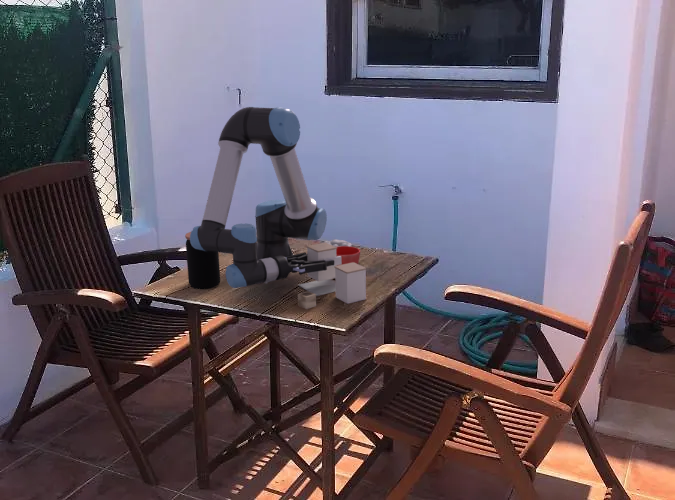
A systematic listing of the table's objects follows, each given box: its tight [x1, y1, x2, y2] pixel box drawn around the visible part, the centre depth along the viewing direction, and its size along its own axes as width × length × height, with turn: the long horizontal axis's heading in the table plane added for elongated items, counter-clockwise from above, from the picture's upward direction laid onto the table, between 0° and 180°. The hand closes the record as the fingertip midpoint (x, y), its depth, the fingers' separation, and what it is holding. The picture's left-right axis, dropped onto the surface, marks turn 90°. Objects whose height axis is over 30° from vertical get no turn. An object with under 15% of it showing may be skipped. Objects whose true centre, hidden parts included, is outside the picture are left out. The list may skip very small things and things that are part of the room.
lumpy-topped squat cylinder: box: [322, 239, 353, 247], centre depth 267 cm, size 10×13×9 cm
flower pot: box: [336, 246, 361, 266], centre depth 253 cm, size 11×11×10 cm
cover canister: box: [305, 242, 337, 282], centre depth 242 cm, size 7×7×10 cm
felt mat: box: [298, 279, 336, 297], centre depth 244 cm, size 12×12×1 cm
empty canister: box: [334, 262, 367, 304], centre depth 233 cm, size 7×7×10 cm
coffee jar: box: [184, 231, 221, 290], centre depth 246 cm, size 11×11×18 cm
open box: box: [297, 290, 317, 310], centre depth 228 cm, size 4×4×4 cm
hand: (334, 257), depth 244 cm, fingers closed on cover canister, 7 cm apart
